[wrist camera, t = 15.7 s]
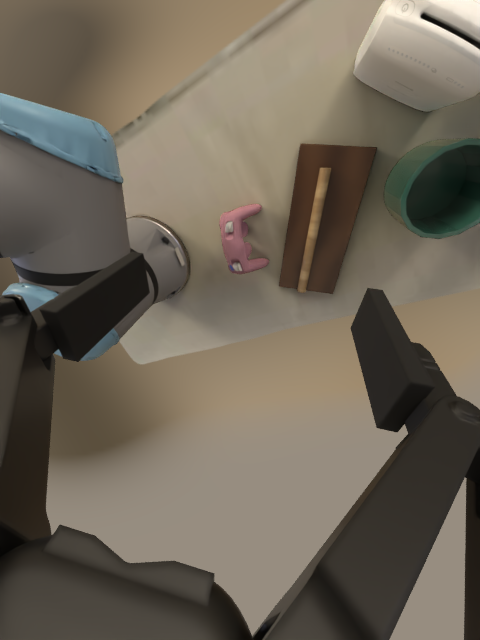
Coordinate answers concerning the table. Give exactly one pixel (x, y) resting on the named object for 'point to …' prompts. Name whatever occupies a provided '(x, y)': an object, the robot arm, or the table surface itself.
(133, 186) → the table surface
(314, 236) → the stirrer
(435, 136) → the table surface
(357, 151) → the board
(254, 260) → the video game controller
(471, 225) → the coffee cup
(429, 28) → the photo printer
